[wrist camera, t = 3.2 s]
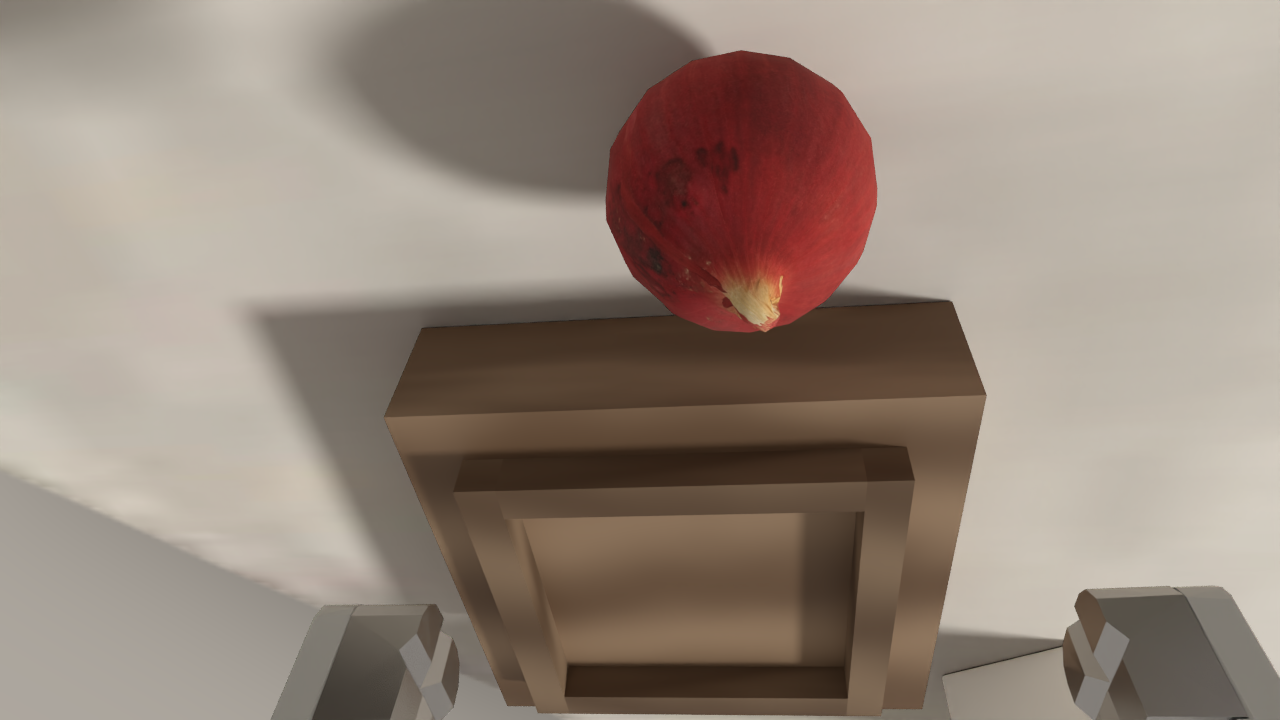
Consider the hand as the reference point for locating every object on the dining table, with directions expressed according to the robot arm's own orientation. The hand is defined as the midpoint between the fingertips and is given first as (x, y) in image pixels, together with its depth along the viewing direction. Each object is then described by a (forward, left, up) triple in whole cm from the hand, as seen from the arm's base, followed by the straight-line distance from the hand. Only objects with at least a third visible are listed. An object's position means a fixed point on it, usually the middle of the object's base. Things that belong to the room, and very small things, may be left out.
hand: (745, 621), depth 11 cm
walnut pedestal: (+13, -2, -14) cm, 20 cm away
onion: (-1, 0, -14) cm, 14 cm away
